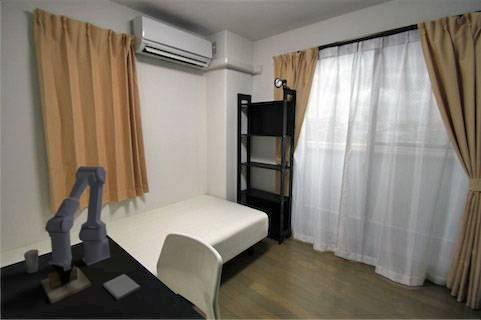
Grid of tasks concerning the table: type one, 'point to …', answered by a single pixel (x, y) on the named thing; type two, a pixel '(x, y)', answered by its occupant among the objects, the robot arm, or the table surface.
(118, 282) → the external hard drive
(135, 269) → the table surface
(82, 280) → the board
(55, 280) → the block
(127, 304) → the table surface
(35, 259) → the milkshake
